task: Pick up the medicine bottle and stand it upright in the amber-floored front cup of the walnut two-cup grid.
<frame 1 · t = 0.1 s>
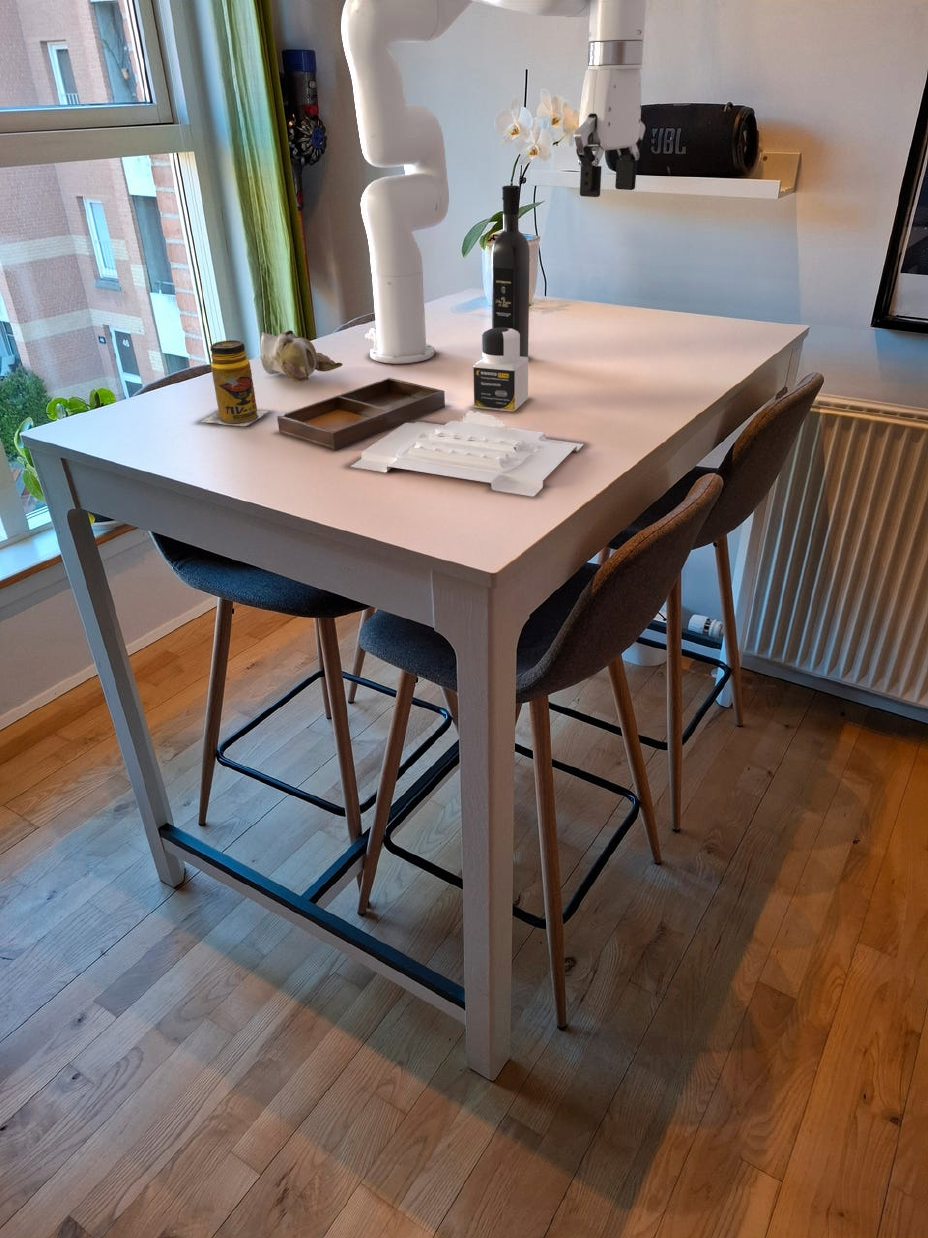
hand: (607, 192, 132), 31 cm above the table, tool pointing down, fingers open, 9 cm apart
wine bottle: (510, 360, 170), on the table
ceramic sculpture: (296, 378, 163), on the table
tray: (469, 456, 128), on the table
medicine bottle: (501, 404, 147), on the table
condiment: (235, 418, 145), on the table
grid: (364, 419, 142), on the table
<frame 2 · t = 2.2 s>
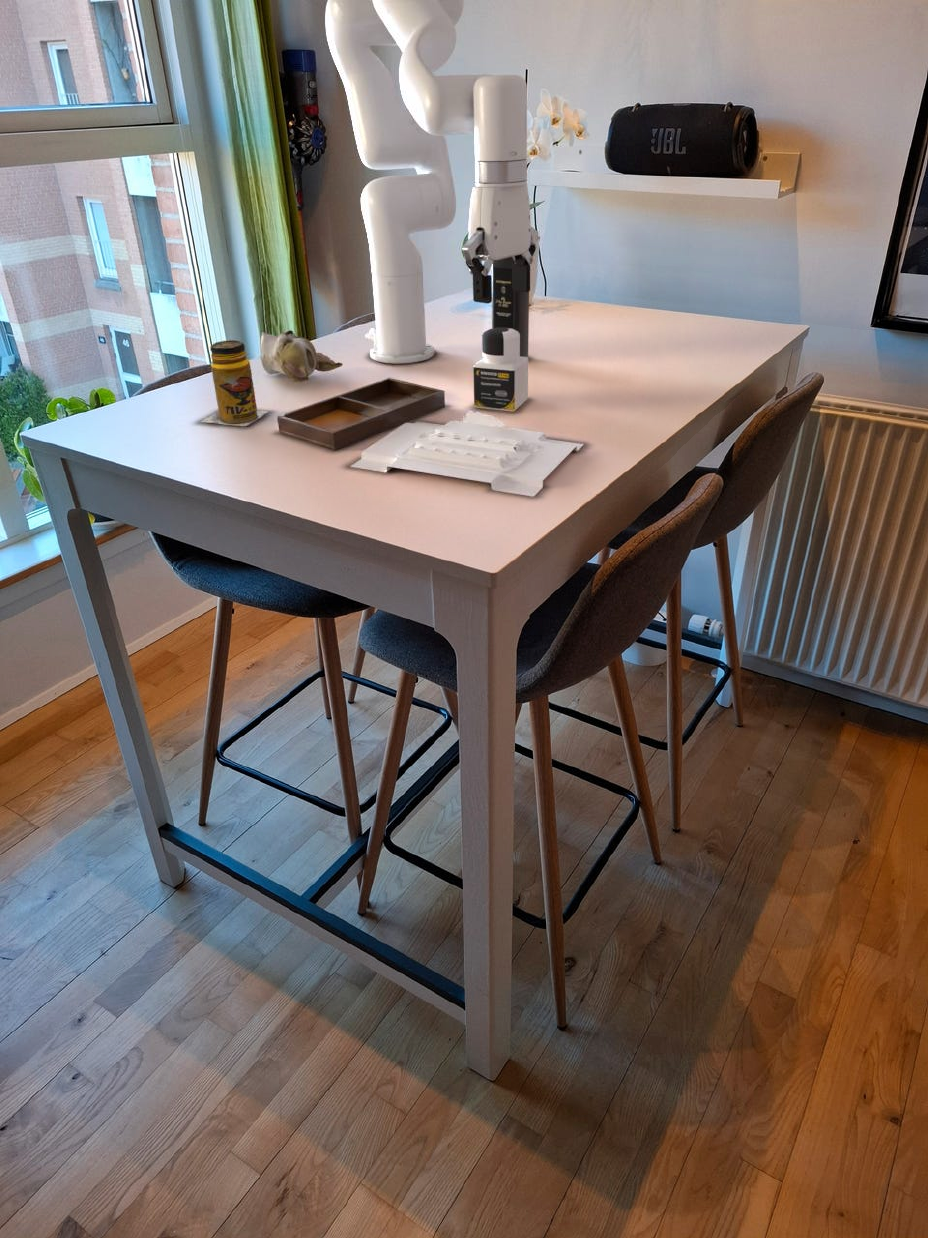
hand: (502, 296, 138), 17 cm above the table, tool pointing down, fingers open, 9 cm apart
nothing on the table moved.
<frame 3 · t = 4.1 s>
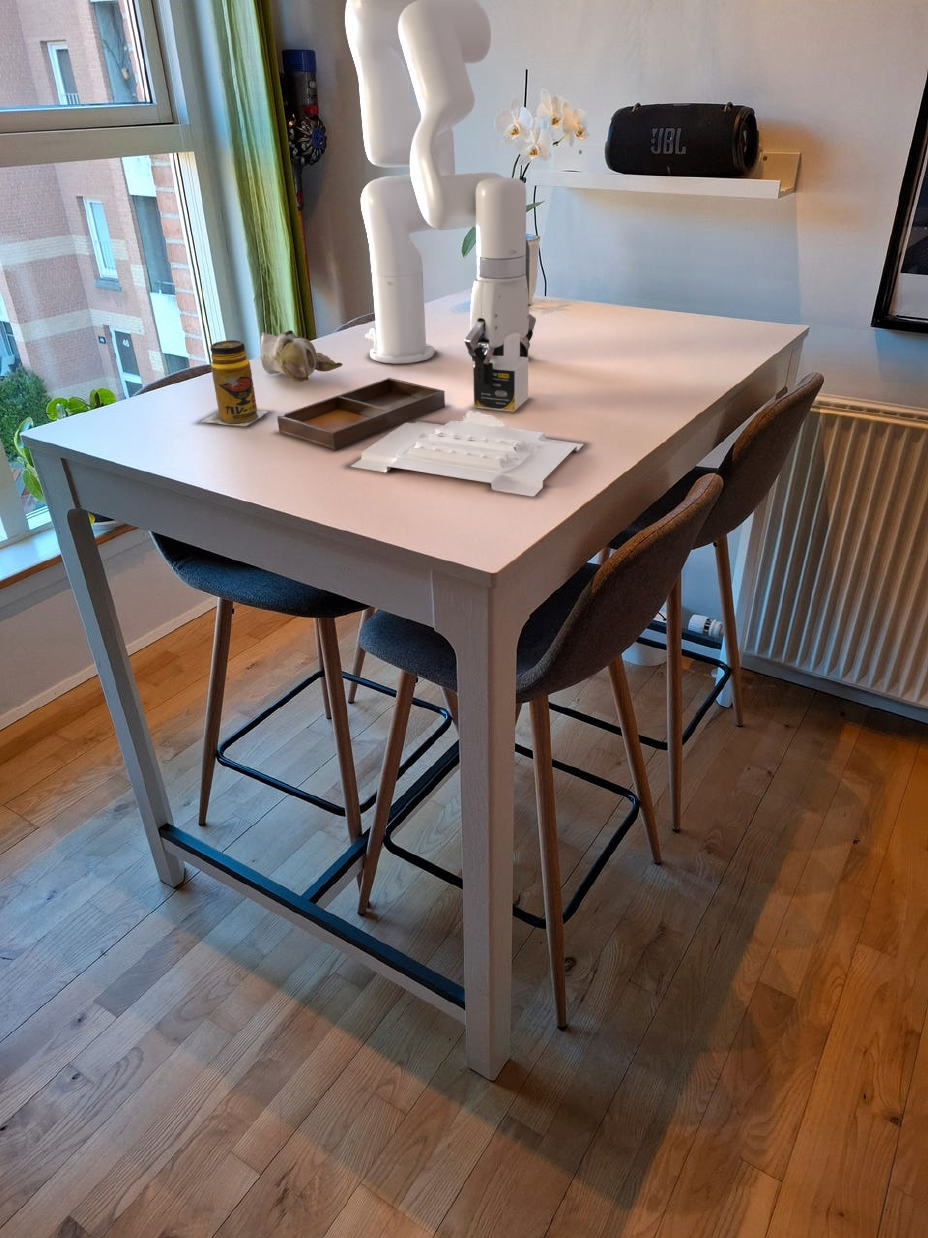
hand: (501, 379, 145), 4 cm above the table, tool pointing down, fingers closed on medicine bottle, 8 cm apart
medicine bottle: (501, 404, 147), on the table, touching gripper
everything else where it was.
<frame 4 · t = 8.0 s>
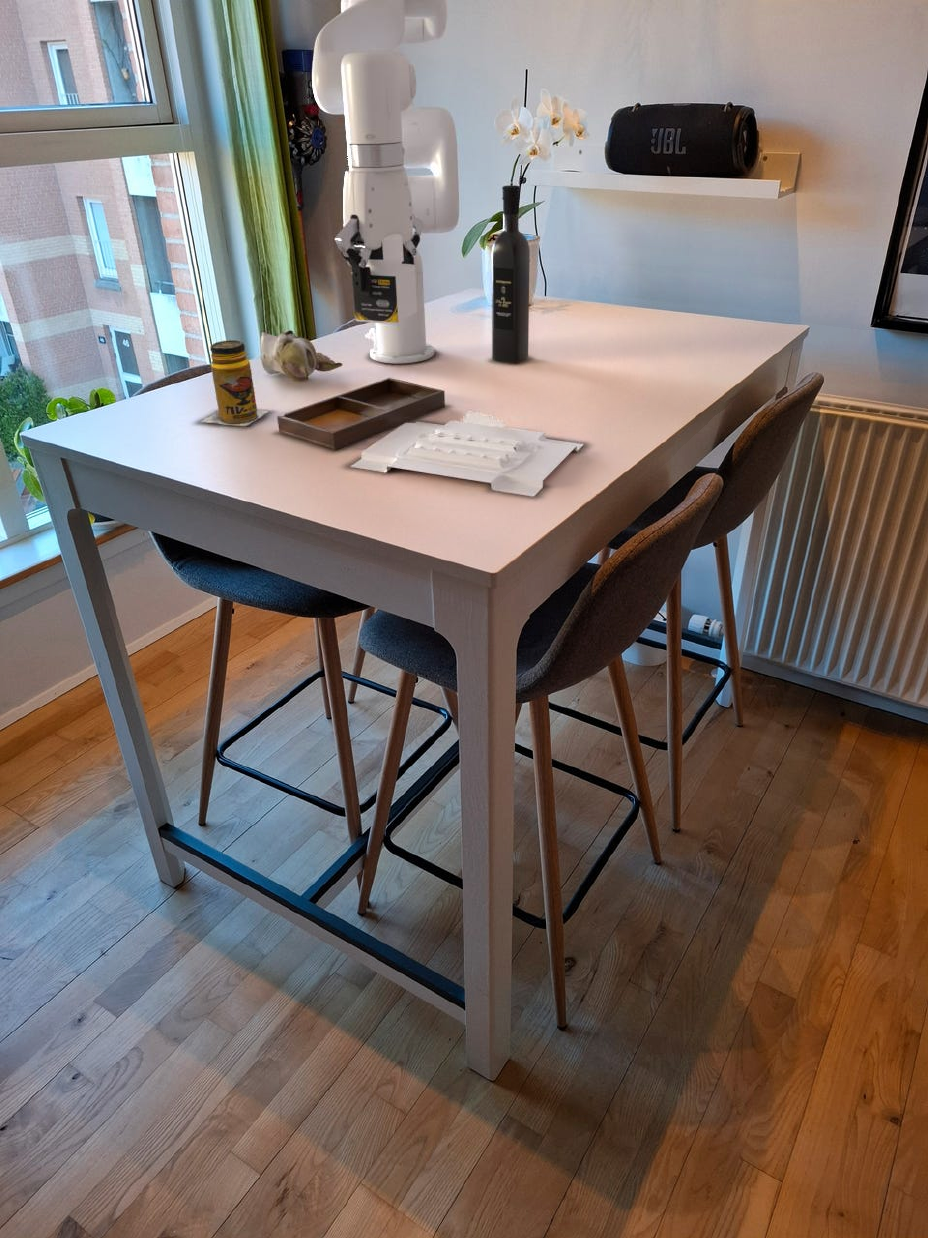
hand: (385, 289, 131), 20 cm above the table, tool pointing down, fingers closed on medicine bottle, 8 cm apart
medicine bottle: (386, 319, 133), point 16 cm above the table, touching gripper
everything else where it was.
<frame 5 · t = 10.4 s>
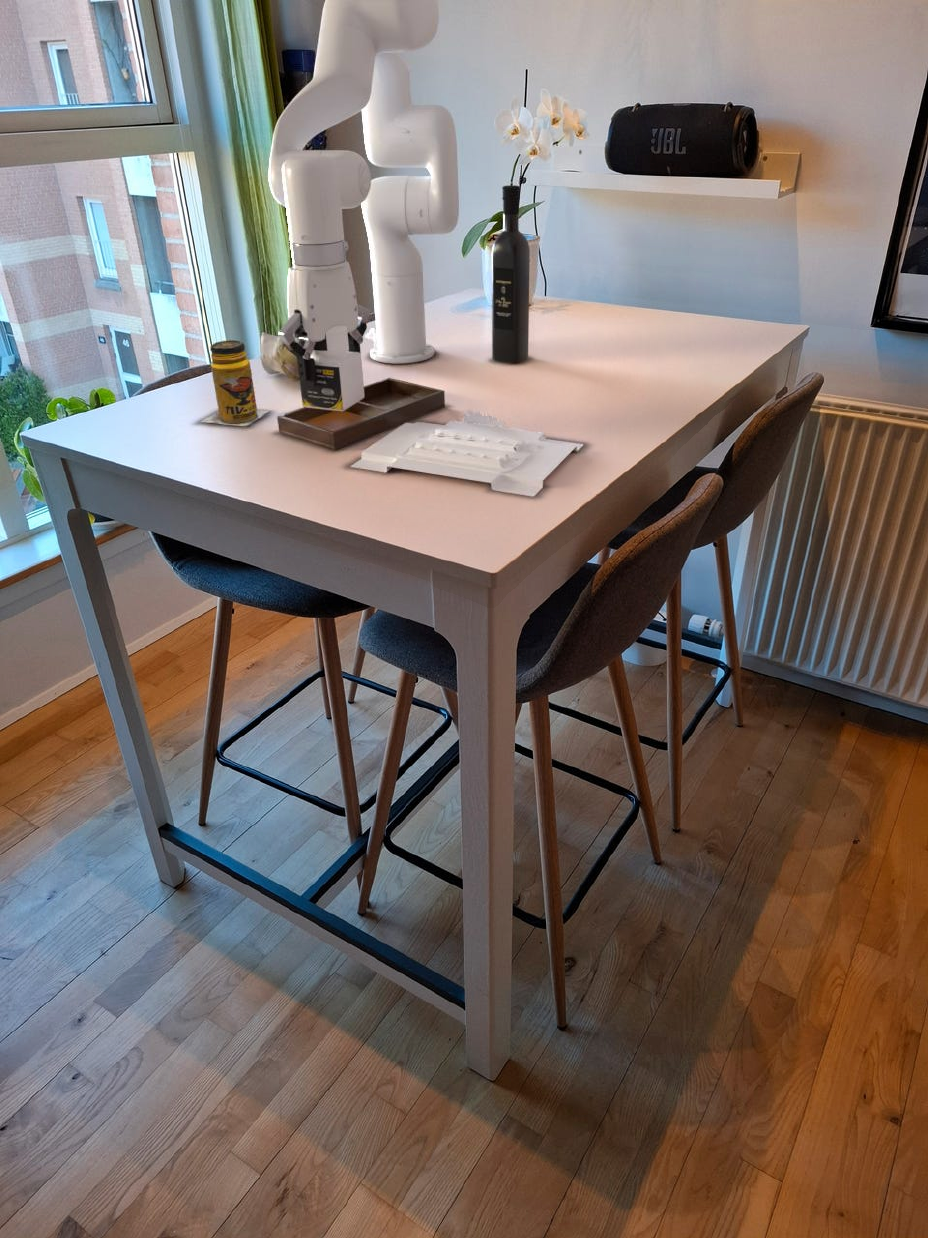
hand: (331, 376, 134), 8 cm above the table, tool pointing down, fingers closed on medicine bottle, 8 cm apart
medicine bottle: (334, 404, 136), point 4 cm above the table, touching gripper
everything else where it was.
when the fingers open (5 cm above the table, at t = 12.1 s): medicine bottle stays where it is, resting on grid.
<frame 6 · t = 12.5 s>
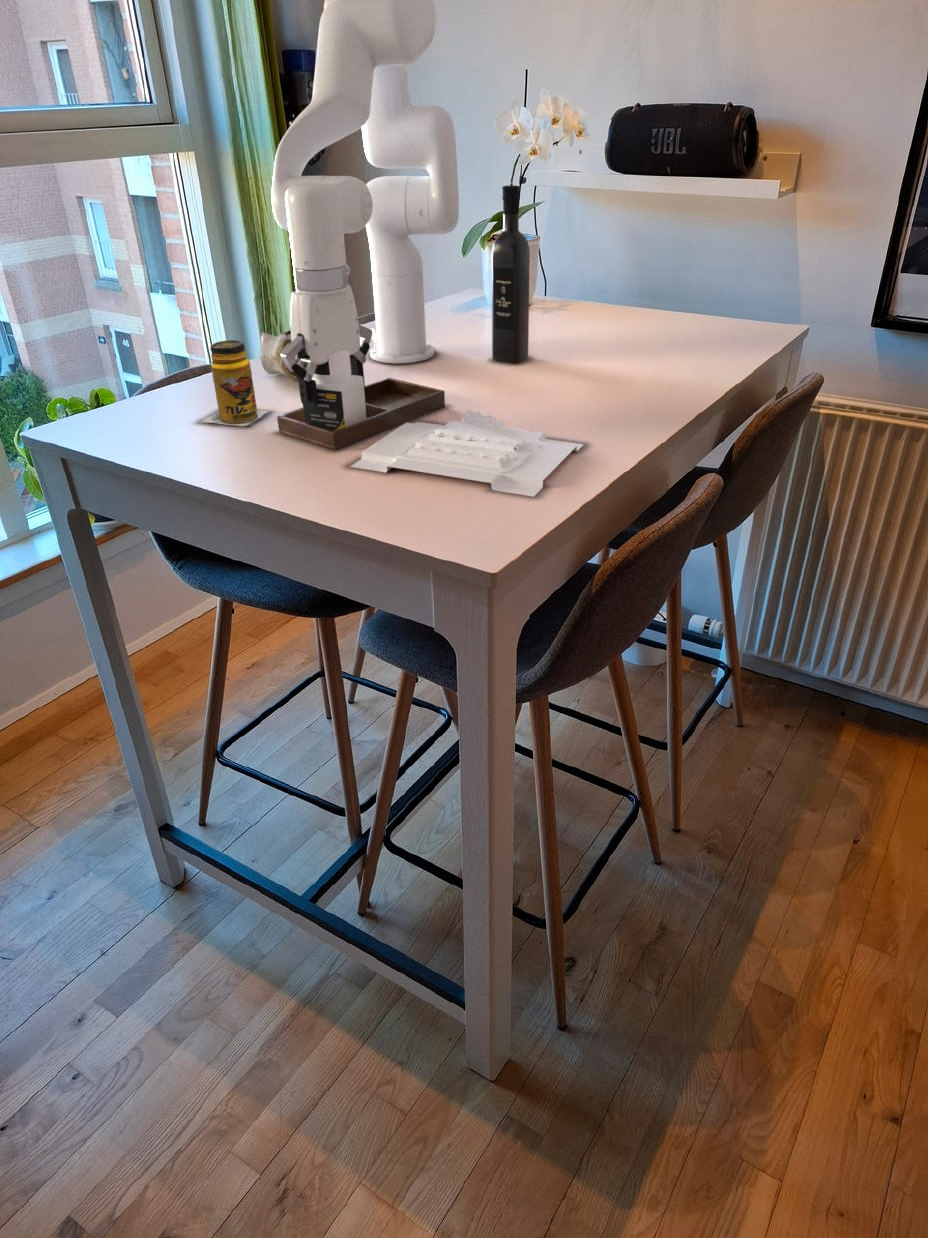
hand: (333, 396, 136), 5 cm above the table, tool pointing down, fingers open, 9 cm apart
medicine bottle: (336, 426, 138), point 1 cm above the table, touching grid
everything else where it was.
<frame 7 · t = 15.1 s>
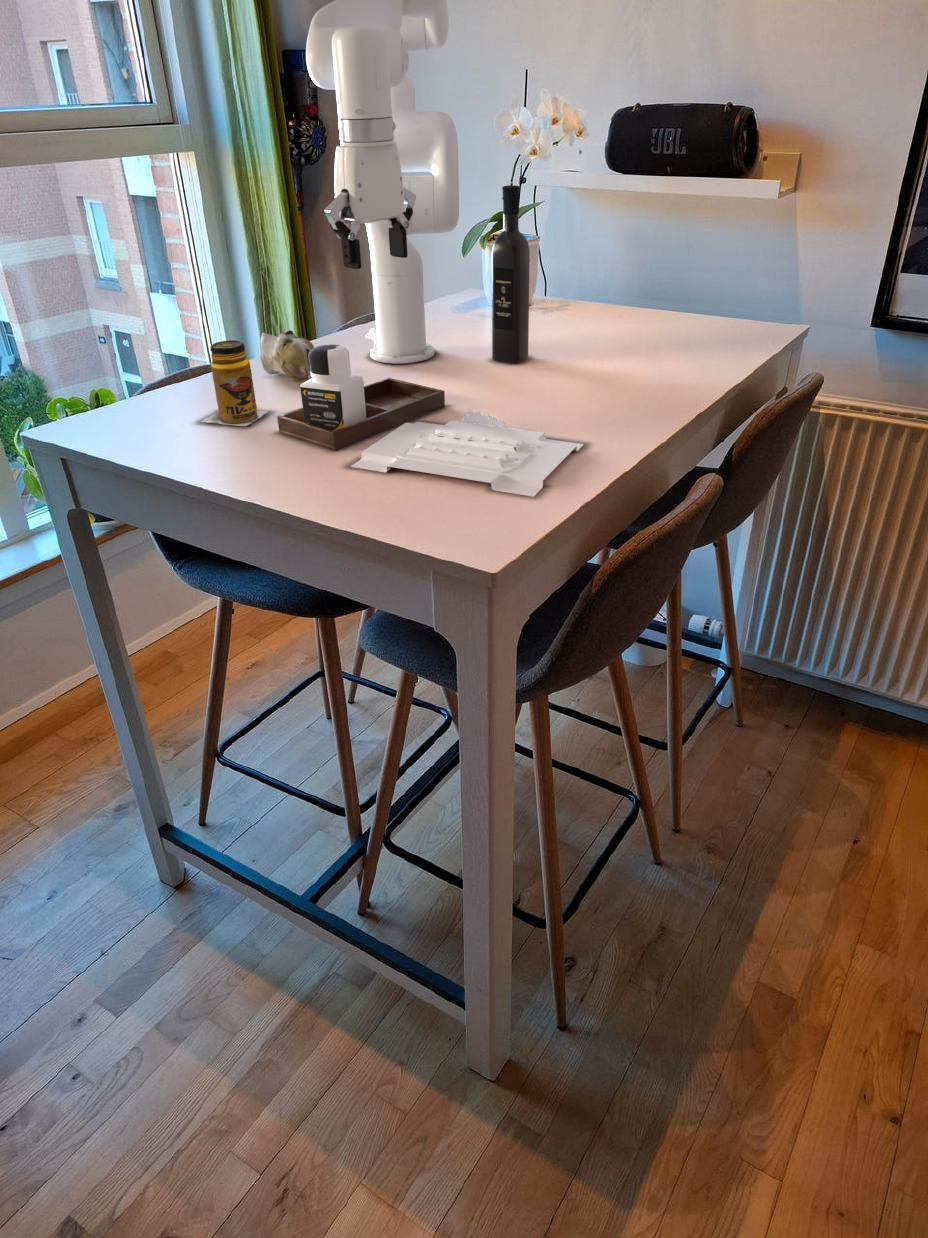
hand: (376, 261, 133), 23 cm above the table, tool pointing down, fingers open, 9 cm apart
nothing on the table moved.
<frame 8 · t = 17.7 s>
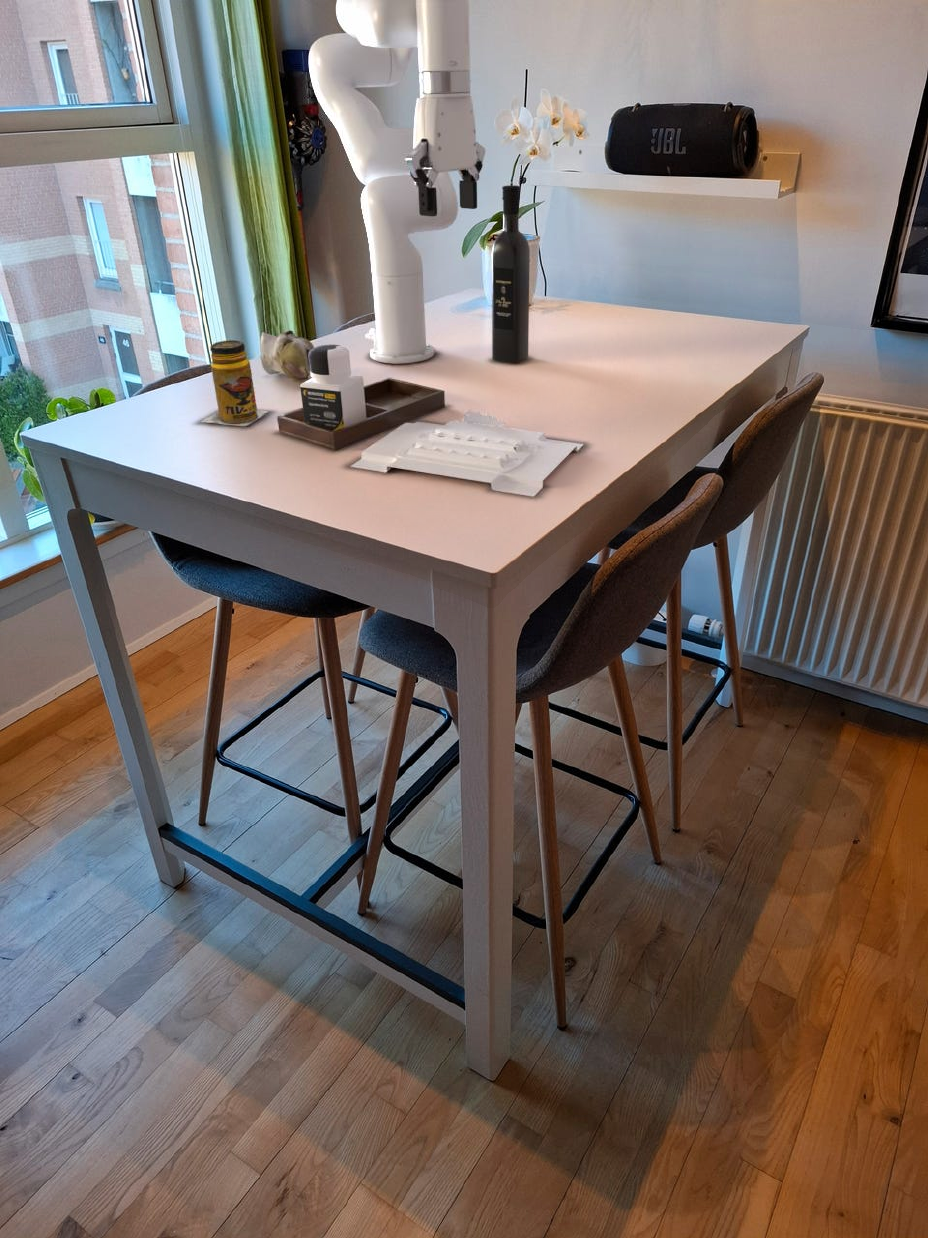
hand: (448, 211, 140), 28 cm above the table, tool pointing down, fingers open, 9 cm apart
nothing on the table moved.
at the end: medicine bottle 0.1 cm from the target spot in the grid, point 0.5 cm above the grid's base; medicine bottle tilted 0°; the gripper is holding nothing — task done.
